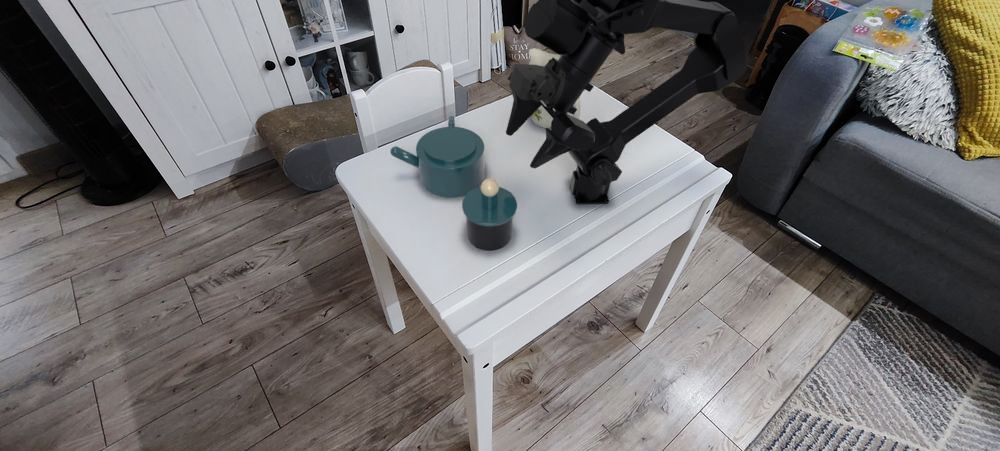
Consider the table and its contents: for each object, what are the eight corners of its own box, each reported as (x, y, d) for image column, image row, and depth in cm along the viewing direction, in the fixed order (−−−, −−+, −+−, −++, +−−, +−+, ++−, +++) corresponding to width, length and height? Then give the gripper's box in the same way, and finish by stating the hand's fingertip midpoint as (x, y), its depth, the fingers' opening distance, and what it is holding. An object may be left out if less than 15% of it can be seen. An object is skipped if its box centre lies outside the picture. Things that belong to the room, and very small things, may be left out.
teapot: (483, 143, 99) (483, 112, 94) (485, 196, 88) (485, 165, 82) (400, 145, 99) (394, 113, 93) (391, 198, 88) (384, 166, 82)
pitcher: (553, 150, 98) (561, 94, 88) (508, 109, 109) (510, 54, 98) (592, 134, 103) (604, 79, 92) (545, 96, 113) (551, 42, 102)
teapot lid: (514, 187, 80) (516, 161, 76) (518, 225, 74) (520, 200, 70) (462, 188, 80) (461, 162, 75) (462, 227, 74) (460, 201, 69)
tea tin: (510, 217, 85) (511, 189, 80) (513, 250, 80) (514, 223, 74) (467, 218, 85) (465, 190, 79) (467, 251, 79) (465, 224, 74)
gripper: (510, 16, 67) (459, 105, 75) (573, 76, 56) (506, 174, 63) (560, 46, 75) (509, 124, 82) (625, 105, 63) (560, 190, 70)
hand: (519, 150), depth 74 cm, fingers open, 9 cm apart
